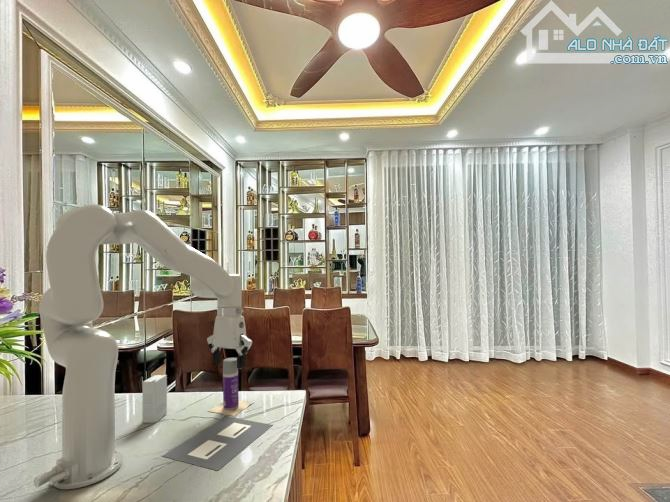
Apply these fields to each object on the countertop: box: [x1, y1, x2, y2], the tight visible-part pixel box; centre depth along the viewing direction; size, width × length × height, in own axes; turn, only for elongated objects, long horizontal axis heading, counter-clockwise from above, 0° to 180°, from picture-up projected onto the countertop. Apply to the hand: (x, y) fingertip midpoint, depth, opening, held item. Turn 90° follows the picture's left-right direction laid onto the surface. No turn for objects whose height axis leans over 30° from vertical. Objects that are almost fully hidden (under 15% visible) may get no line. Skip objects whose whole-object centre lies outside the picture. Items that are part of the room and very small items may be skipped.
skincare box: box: [141, 374, 168, 424], centre depth 100 cm, size 6×4×12 cm
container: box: [222, 357, 240, 410], centre depth 107 cm, size 5×5×15 cm
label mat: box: [162, 415, 273, 472], centre depth 86 cm, size 22×17×1 cm
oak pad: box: [207, 400, 251, 417], centre depth 106 cm, size 10×10×1 cm
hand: (228, 365), depth 106 cm, fingers open, 9 cm apart
